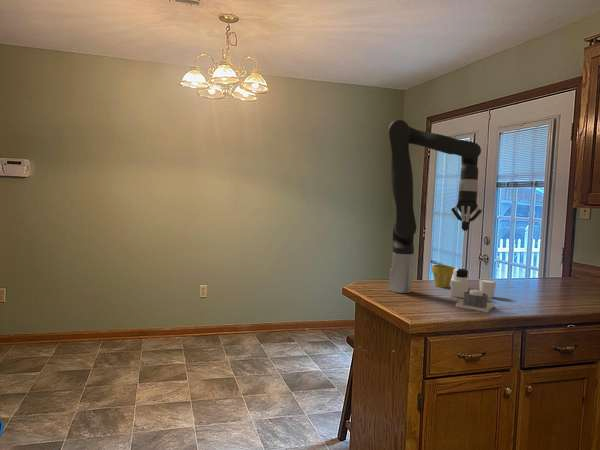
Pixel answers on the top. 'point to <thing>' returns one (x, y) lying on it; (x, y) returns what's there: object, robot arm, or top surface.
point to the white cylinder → (487, 287)
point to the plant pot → (442, 275)
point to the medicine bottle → (459, 283)
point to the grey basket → (475, 302)
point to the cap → (476, 292)
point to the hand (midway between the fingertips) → (465, 230)
